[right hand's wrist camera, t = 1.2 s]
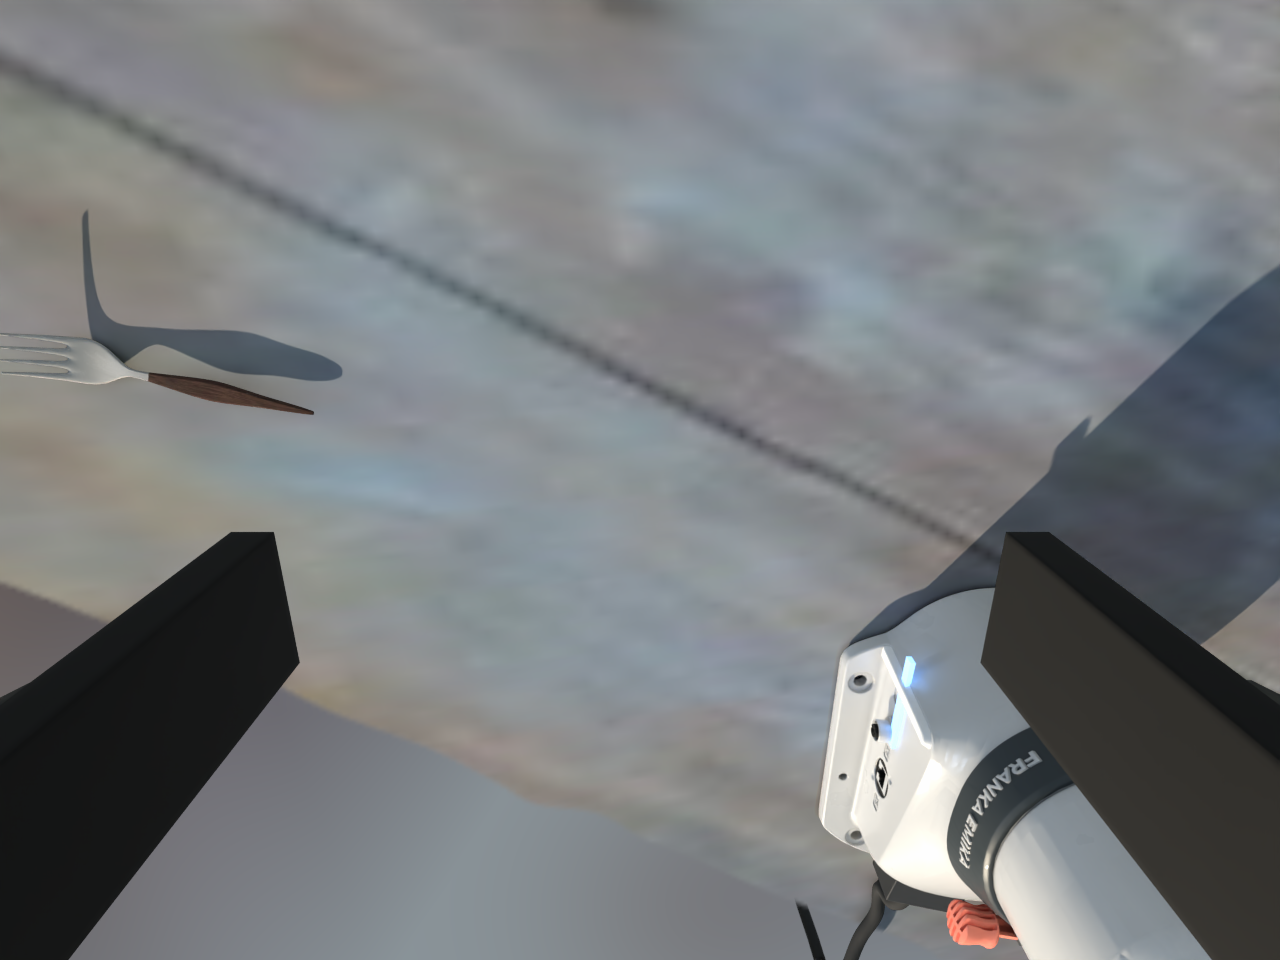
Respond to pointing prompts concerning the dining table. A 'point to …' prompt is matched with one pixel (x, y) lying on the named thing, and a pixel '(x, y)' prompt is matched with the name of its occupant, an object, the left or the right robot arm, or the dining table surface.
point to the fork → (134, 373)
